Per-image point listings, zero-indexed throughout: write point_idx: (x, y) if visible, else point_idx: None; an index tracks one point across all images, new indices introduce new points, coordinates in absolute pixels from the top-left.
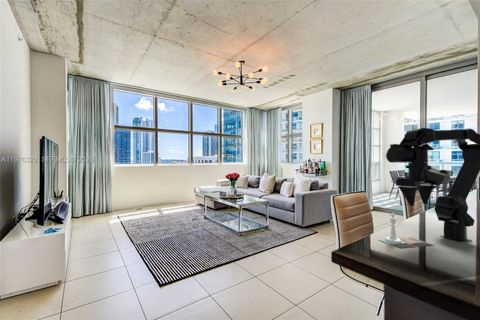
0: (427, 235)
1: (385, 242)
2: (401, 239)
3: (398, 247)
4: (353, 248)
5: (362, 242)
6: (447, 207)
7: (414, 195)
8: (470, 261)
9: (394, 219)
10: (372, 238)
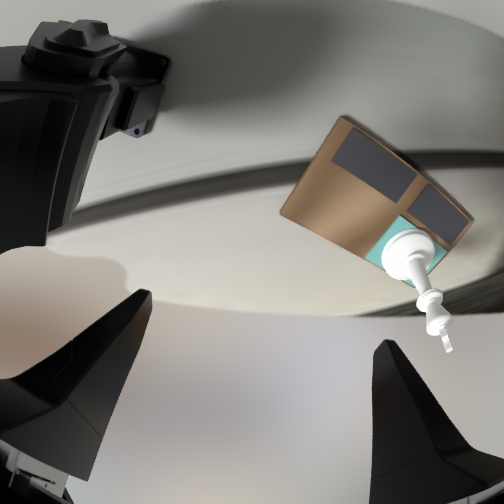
0: (146, 180)
1: (432, 267)
2: (351, 238)
3: (463, 227)
4: (491, 301)
5: None
6: (66, 137)
7: (442, 420)
8: (435, 22)
9: (452, 317)
10: (379, 304)
